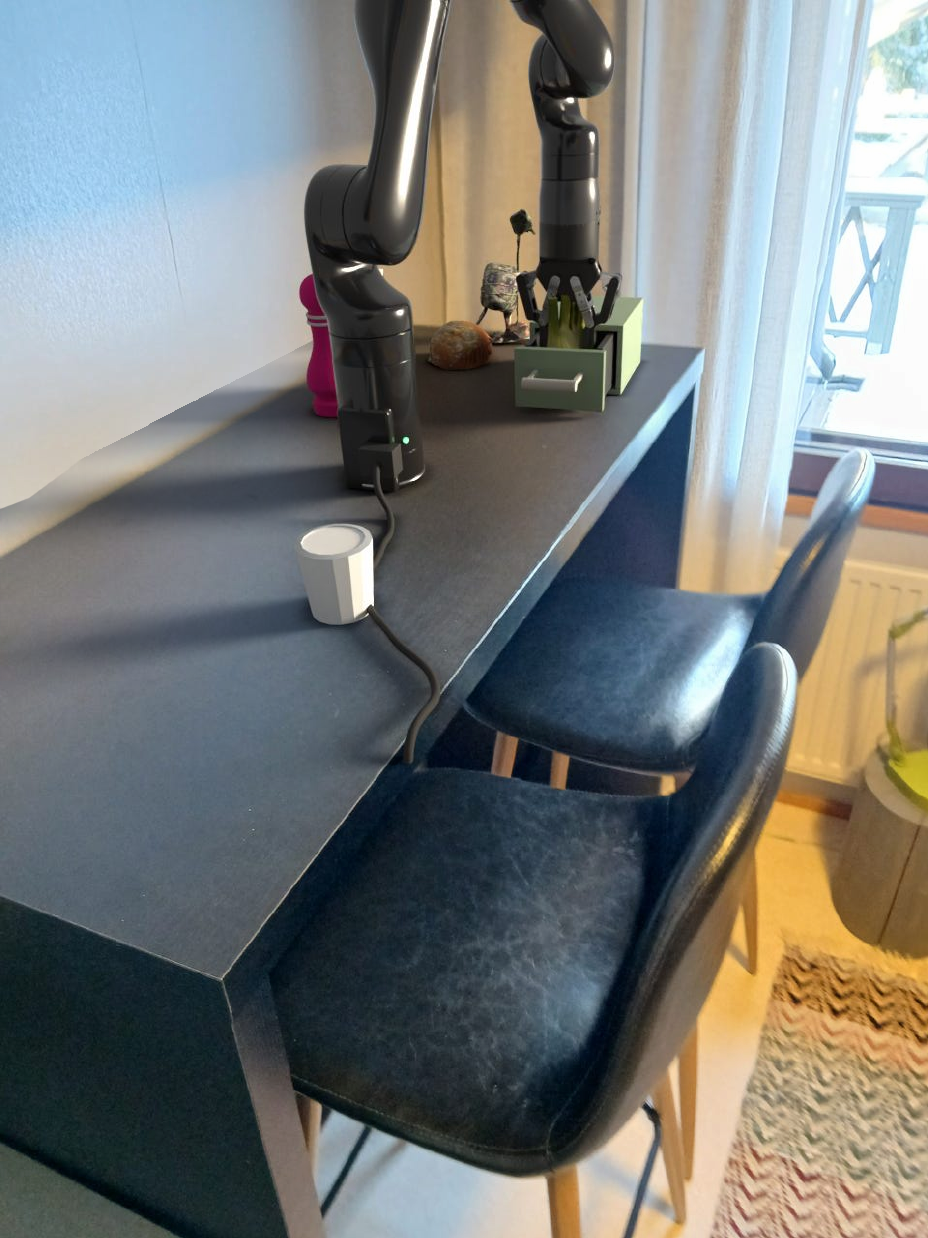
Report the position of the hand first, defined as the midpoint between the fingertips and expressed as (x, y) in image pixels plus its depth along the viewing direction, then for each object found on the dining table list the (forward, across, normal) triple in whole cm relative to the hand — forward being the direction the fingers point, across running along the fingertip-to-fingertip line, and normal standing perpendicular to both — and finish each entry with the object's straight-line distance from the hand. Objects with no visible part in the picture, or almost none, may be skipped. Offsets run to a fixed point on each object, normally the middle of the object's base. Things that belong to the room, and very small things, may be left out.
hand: (567, 352), depth 125 cm
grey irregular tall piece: (+7, -17, +29) cm, 34 cm away
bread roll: (+7, -21, +16) cm, 27 cm away
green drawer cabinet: (+7, 0, +12) cm, 14 cm away
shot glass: (+7, -7, -58) cm, 59 cm away
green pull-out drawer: (+6, 0, -1) cm, 6 cm away
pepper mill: (+7, -31, -9) cm, 33 cm away
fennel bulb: (+4, 0, 0) cm, 4 cm away
